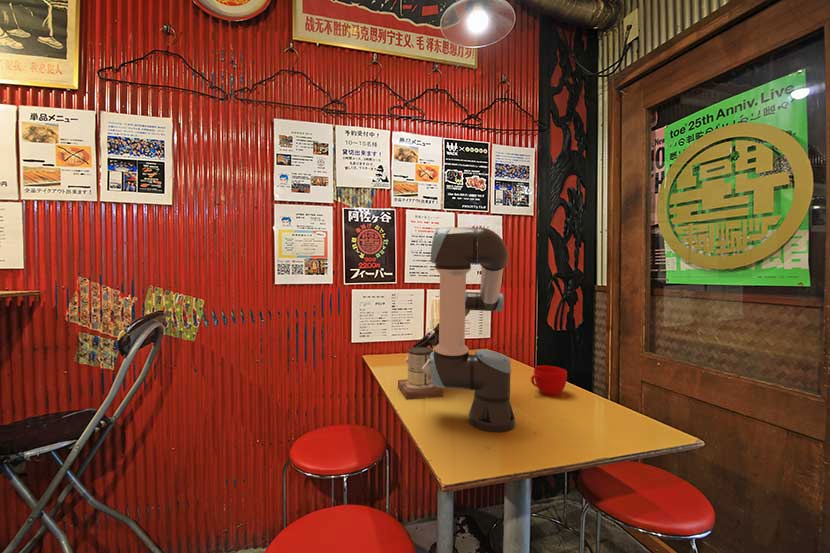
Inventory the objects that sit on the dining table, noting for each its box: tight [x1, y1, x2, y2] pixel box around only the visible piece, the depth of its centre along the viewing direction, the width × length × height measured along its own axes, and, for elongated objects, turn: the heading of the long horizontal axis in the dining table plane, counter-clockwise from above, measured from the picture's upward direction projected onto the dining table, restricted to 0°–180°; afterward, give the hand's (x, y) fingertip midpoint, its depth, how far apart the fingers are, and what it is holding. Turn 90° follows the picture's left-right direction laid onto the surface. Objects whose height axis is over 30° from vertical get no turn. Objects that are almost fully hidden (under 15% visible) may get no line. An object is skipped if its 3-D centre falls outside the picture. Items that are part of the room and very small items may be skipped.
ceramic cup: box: [530, 365, 568, 397], centre depth 148 cm, size 13×17×10 cm
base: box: [397, 378, 444, 400], centre depth 147 cm, size 15×15×3 cm
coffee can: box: [407, 346, 434, 387], centre depth 147 cm, size 10×10×14 cm
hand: (415, 366), depth 146 cm, fingers open, 13 cm apart
